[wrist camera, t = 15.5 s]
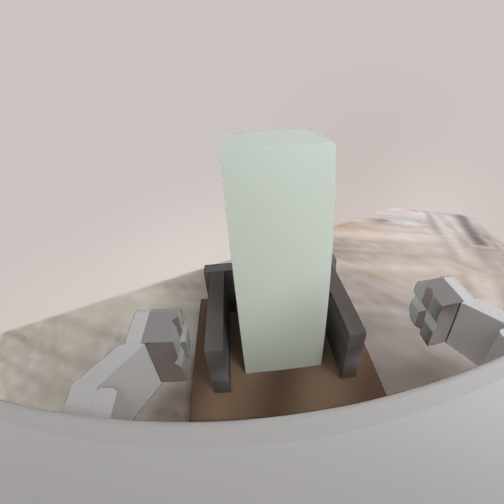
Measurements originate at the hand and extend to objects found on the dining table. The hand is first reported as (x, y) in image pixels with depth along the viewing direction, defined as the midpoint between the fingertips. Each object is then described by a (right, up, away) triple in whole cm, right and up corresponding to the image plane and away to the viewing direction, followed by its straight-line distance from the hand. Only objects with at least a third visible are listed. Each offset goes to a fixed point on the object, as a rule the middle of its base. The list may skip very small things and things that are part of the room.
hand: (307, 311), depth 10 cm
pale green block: (0, -5, +12) cm, 12 cm away
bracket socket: (0, -5, +12) cm, 13 cm away
